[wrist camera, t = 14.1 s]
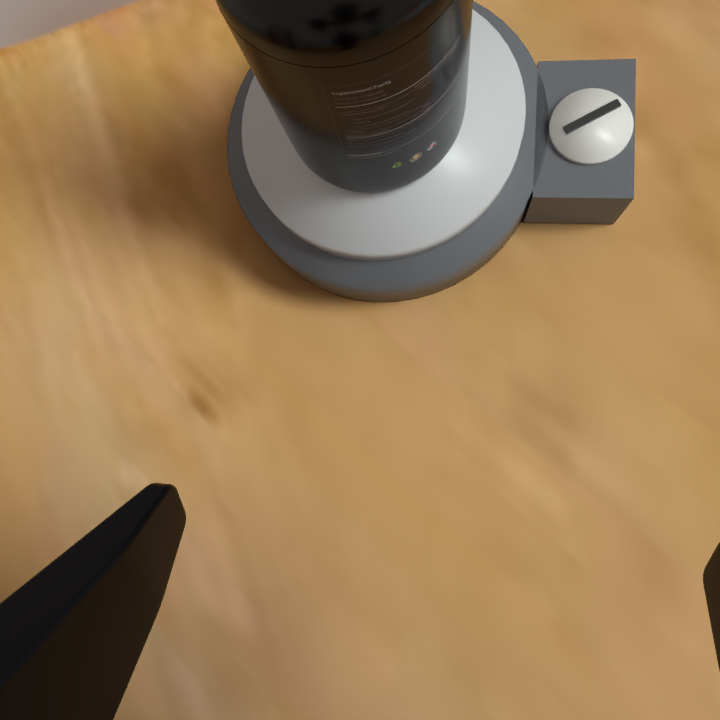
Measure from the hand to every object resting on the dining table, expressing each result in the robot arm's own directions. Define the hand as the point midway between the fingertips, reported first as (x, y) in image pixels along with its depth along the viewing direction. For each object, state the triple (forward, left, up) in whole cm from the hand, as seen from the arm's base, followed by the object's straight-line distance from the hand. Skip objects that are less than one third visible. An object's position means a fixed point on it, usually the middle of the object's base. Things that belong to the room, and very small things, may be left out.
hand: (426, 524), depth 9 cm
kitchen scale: (+14, +1, -14) cm, 19 cm away
